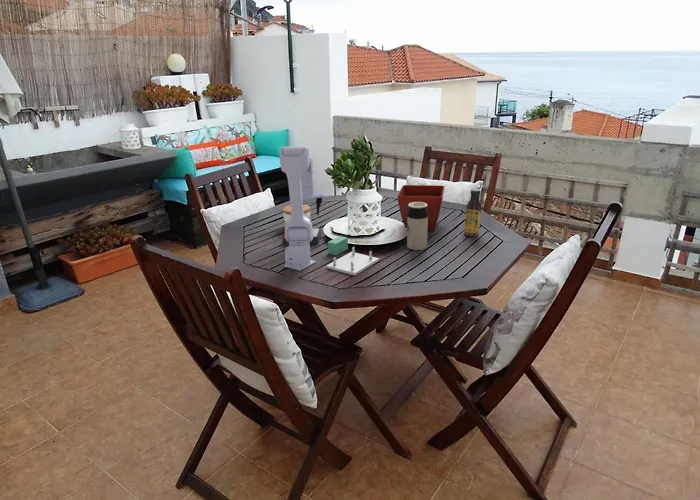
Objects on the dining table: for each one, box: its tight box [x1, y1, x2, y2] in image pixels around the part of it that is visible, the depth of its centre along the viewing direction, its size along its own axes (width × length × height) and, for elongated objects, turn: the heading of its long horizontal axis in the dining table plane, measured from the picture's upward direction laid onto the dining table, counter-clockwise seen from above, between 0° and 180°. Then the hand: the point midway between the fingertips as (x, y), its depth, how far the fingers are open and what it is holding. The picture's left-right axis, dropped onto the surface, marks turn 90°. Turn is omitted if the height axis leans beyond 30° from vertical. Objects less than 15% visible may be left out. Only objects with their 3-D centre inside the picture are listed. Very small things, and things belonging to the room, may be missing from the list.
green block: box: [327, 235, 349, 256], centre depth 194 cm, size 8×4×5 cm, turn 144°
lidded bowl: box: [282, 204, 311, 223], centre depth 224 cm, size 13×13×11 cm
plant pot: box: [397, 184, 445, 232], centre depth 217 cm, size 19×19×17 cm
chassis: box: [325, 246, 380, 276], centre depth 181 cm, size 16×13×4 cm
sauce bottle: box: [463, 188, 482, 237], centre depth 204 cm, size 7×6×20 cm
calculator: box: [281, 228, 322, 246], centre depth 208 cm, size 11×4×15 cm
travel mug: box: [406, 202, 428, 251], centre depth 193 cm, size 8×8×18 cm
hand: (308, 214), depth 208 cm, fingers open, 7 cm apart
